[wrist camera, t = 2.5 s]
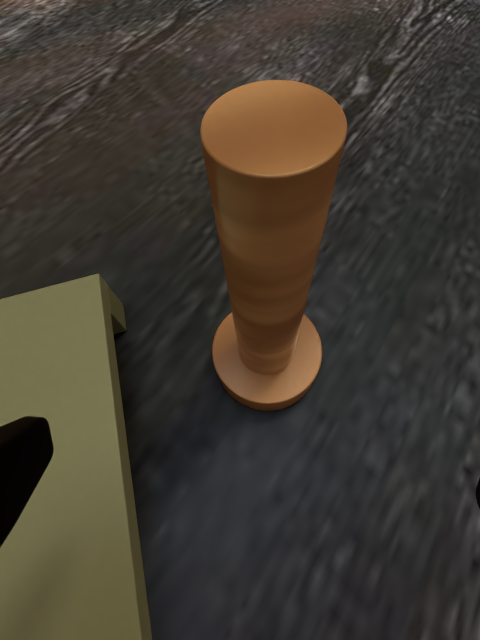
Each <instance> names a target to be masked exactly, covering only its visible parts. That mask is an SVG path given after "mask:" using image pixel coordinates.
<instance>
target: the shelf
mask: <svg viewBox="0 0 480 640" xmlns="http://www.w3.org/2000/svg"><path fill="white" fill-rule="evenodd" d="M124 331H127V328H126V321H125V314H124V307H123V304H122V303H121V302H120V300H119V299H118V298H117V296H116V295H115V294H114V293H113V291H112V290H111V289H110V287H109V286H108V285H107V284H106V283H105V281H104V280H103V279H102V277H101V276H100V275H99V274H95V275H91V276H87V277H84V278H80V279H76V280H72V281H68V282H65V283H61V284H57V285H53V286H49V287H46V288H42V289H38V290H34V291H30V292H27V293H23V294H19V295H15V296H11V297H8V298H4V299H0V426H3V425H5V424H8V423H10V422H12V421H15V420H17V419H19V418H22V417H25V416H37V417H44V418H46V419H47V421H48V423H49V427H50V432H51V437H52V442H53V447H54V451H53V456H52V459H51V461H50V463H49V465H48V466H47V468H46V470H45V472H44V474H43V476H42V477H41V479H40V481H39V483H38V485H37V486H36V488H35V490H34V492H33V494H32V495H31V497H30V499H29V501H28V503H27V504H26V506H25V508H24V510H23V512H22V513H21V515H20V517H19V519H18V520H17V522H16V524H15V526H14V527H13V529H12V531H11V532H10V534H9V535H8V537H7V538H6V540H5V541H4V543H3V544H2V546H1V547H0V640H152V633H151V625H150V618H149V610H148V602H147V594H146V586H145V579H144V571H143V563H142V555H141V547H140V539H139V532H138V524H137V516H136V508H135V500H134V492H133V485H132V477H131V469H130V461H129V453H128V445H127V438H126V430H125V422H124V414H123V406H122V398H121V391H120V383H119V375H118V367H117V359H116V351H115V344H114V336H113V335H114V334H117V333H121V332H124Z"/></svg>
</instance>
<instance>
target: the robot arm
mask: <svg viewBox="0 0 480 640" xmlns="http://www.w3.org/2000/svg"><path fill="white" fill-rule="evenodd" d="M53 451H54V447H53V442H52V437H51V432H50V427H49V423H48V421H47V419H46V418H44V417H37V416H25V417H22V418H19V419H17V420H15V421H12V422H10V423H8V424H5V425H3V426H0V547H1V546H2V544H3V543H4V541H5V540H6V538H7V537H8V535H9V534H10V532H11V531H12V529H13V527H14V526H15V524H16V522H17V520H18V519H19V517H20V515H21V513H22V512H23V510H24V508H25V506H26V504H27V503H28V501H29V499H30V497H31V495H32V494H33V492H34V490H35V488H36V486H37V485H38V483H39V481H40V479H41V477H42V476H43V474H44V472H45V470H46V468H47V466H48V465H49V463H50V461H51V459H52V456H53ZM476 499H477V503H478V506H479V508H480V479H479V482H478V485H477V488H476Z"/></svg>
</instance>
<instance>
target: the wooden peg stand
mask: <svg viewBox="0 0 480 640" xmlns="http://www.w3.org/2000/svg"><path fill="white" fill-rule="evenodd" d="M346 135H347V122H346V117H345V114H344V112H343V110H342V108H341V107H340V105H339V104H338V103H337V102H336V101H335V100H334V99H333V98H332V97H331V96H330V95H328V94H327V93H325V92H324V91H322V90H320V89H318V88H316V87H313V86H311V85H308V84H304V83H300V82H295V81H288V80H266V81H258V82H253V83H249V84H246V85H242V86H240V87H237V88H235V89H233V90H231V91H229V92H227V93H225V94H224V95H222V96H221V97H220V98H218V99H217V100H216V101H215V102H214V103H213V104H212V105H211V106H210V107H209V109H208V110H207V111H206V113H205V115H204V117H203V120H202V123H201V129H200V136H201V143H202V148H203V154H204V159H205V165H206V170H207V176H208V182H209V187H210V193H211V198H212V204H213V209H214V215H215V220H216V226H217V231H218V237H219V243H220V248H221V254H222V259H223V265H224V270H225V276H226V281H227V287H228V293H229V298H230V304H231V309H232V312H231V313H230V314H229V315H228V316H227V317H226V318H225V319H224V320H223V321H222V323H221V324H220V326H219V327H218V329H217V331H216V334H215V337H214V340H213V345H212V359H213V364H214V367H215V370H216V372H217V375H218V377H219V380H220V382H221V384H222V386H223V387H224V389H225V390H226V392H227V393H228V394H229V395H230V396H231V397H232V398H233V399H235V400H236V401H237V402H239V403H240V404H242V405H244V406H246V407H249V408H252V409H255V410H261V411H273V410H279V409H283V408H286V407H288V406H291V405H292V404H294V403H296V402H297V401H299V400H300V399H301V398H302V397H303V396H304V395H305V394H306V393H307V392H308V390H309V389H310V387H311V386H312V384H313V382H314V380H315V378H316V376H317V374H318V371H319V369H320V366H321V361H322V345H321V340H320V337H319V334H318V332H317V330H316V328H315V326H314V325H313V324H312V322H311V321H310V320H309V319H308V318H307V316H305V315H304V310H305V306H306V301H307V297H308V293H309V289H310V285H311V281H312V277H313V272H314V268H315V264H316V260H317V256H318V252H319V247H320V243H321V239H322V235H323V231H324V227H325V222H326V218H327V214H328V210H329V206H330V202H331V197H332V193H333V189H334V185H335V181H336V177H337V172H338V168H339V164H340V160H341V156H342V152H343V148H344V143H345V139H346Z"/></svg>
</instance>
